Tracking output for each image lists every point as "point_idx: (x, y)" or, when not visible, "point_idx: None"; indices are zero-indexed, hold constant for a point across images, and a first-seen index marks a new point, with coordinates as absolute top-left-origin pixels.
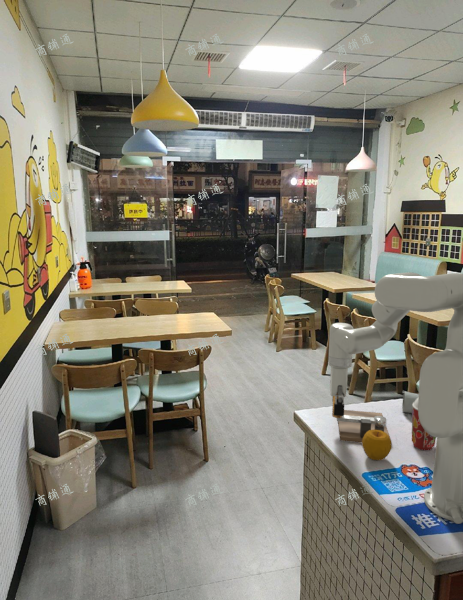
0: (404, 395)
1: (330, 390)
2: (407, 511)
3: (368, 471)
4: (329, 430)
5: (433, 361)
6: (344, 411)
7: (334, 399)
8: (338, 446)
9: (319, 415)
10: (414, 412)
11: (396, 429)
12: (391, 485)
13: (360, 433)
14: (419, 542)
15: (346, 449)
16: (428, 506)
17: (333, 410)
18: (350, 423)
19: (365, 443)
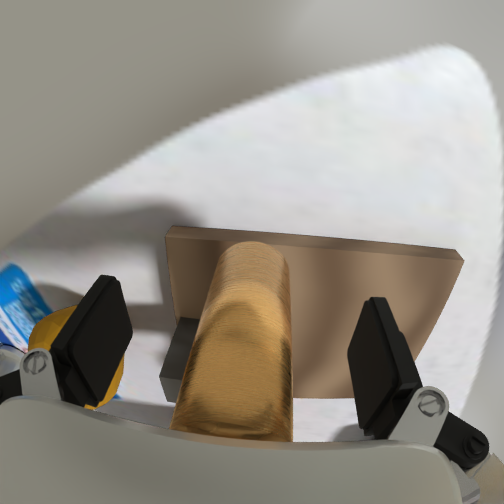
0: None
1: (77, 462)
2: None
3: (33, 284)
4: (274, 183)
5: None
6: (438, 290)
7: (195, 371)
8: (122, 213)
9: (445, 156)
10: None
11: (301, 403)
12: (19, 315)
13: (191, 327)
14: None
15: (111, 243)
16: (3, 346)
17: (223, 277)
18: (316, 301)
19: (35, 331)
